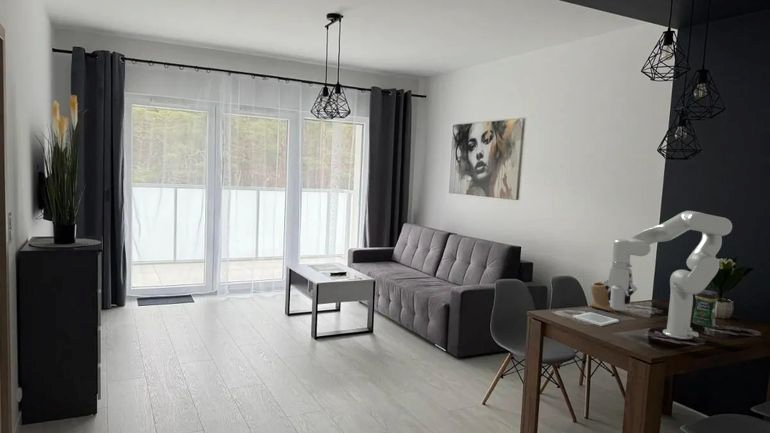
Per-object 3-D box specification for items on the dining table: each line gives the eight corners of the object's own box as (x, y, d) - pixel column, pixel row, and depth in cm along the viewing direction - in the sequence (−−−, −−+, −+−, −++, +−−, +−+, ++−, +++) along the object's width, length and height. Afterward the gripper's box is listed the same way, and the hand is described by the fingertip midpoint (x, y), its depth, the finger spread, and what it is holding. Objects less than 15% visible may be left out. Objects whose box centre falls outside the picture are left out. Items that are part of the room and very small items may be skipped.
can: (623, 307, 258) (625, 282, 257) (629, 311, 251) (630, 286, 250) (607, 306, 259) (609, 282, 258) (612, 310, 252) (614, 285, 251)
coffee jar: (689, 323, 278) (693, 288, 276) (696, 321, 283) (700, 287, 281) (710, 328, 270) (714, 292, 268) (716, 326, 275) (720, 291, 273)
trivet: (618, 321, 273) (618, 319, 273) (601, 326, 264) (601, 323, 264) (590, 314, 286) (590, 312, 286) (572, 317, 276) (573, 315, 276)
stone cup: (584, 306, 302) (586, 280, 300) (597, 304, 308) (599, 279, 307) (608, 313, 289) (610, 286, 288) (621, 311, 296) (623, 285, 294)
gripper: (643, 267, 249) (640, 304, 250) (608, 261, 262) (606, 297, 264) (634, 269, 244) (632, 306, 246) (599, 263, 258) (597, 299, 259)
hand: (618, 301), depth 255 cm, fingers closed on can, 7 cm apart
